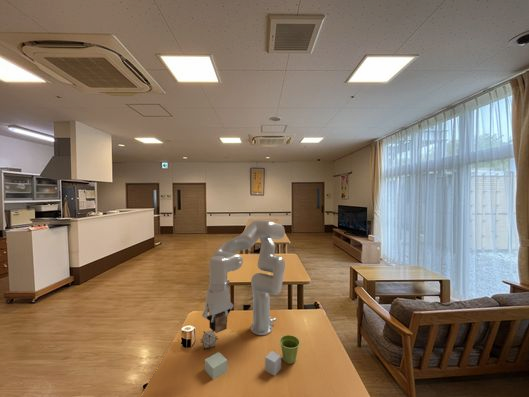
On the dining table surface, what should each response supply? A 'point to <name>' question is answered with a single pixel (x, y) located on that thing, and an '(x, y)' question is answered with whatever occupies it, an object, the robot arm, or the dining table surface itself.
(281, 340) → the plant pot
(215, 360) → the base block
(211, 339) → the grey spiky ball
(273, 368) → the grey block
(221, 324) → the walnut block
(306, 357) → the dining table surface
